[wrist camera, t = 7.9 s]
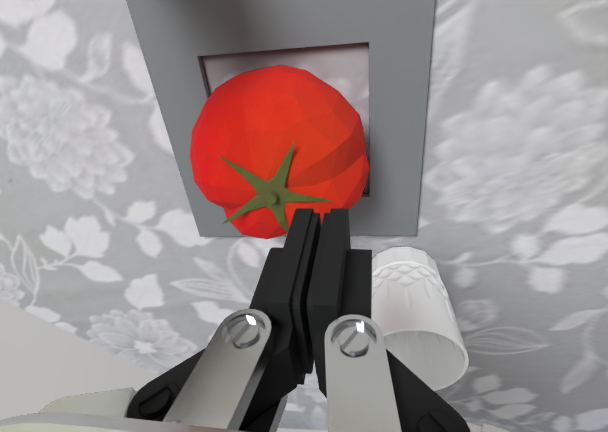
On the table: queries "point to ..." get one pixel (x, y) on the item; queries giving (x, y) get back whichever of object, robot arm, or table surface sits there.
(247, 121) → the tomato
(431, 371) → the white cup
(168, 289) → the table surface
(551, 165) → the table surface
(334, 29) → the gray picture frame
